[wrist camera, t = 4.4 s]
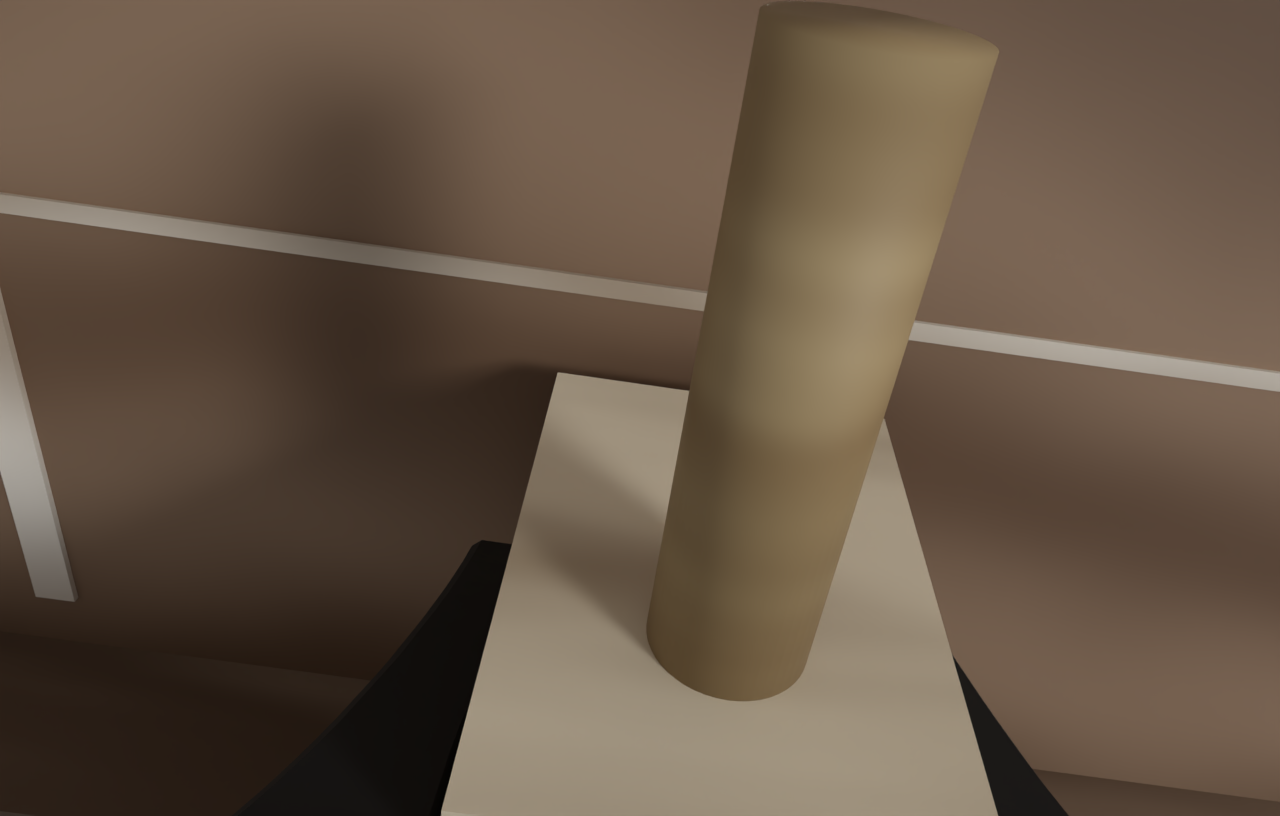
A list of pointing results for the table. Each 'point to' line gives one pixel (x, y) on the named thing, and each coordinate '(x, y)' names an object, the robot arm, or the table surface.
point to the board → (604, 362)
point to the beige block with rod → (753, 488)
